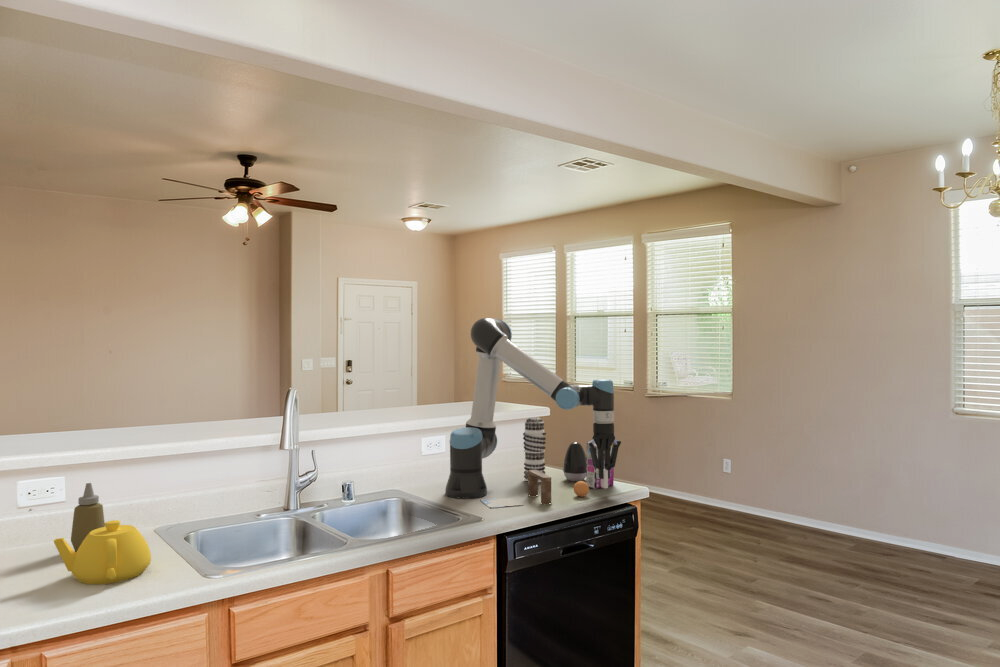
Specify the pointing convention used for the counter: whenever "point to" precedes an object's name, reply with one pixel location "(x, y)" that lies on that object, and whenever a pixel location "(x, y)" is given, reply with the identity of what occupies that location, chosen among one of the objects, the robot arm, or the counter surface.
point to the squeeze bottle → (86, 516)
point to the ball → (581, 488)
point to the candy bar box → (596, 471)
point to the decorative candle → (534, 445)
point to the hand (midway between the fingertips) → (604, 487)
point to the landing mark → (488, 502)
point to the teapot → (107, 554)
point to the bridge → (545, 485)
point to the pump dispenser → (575, 462)
